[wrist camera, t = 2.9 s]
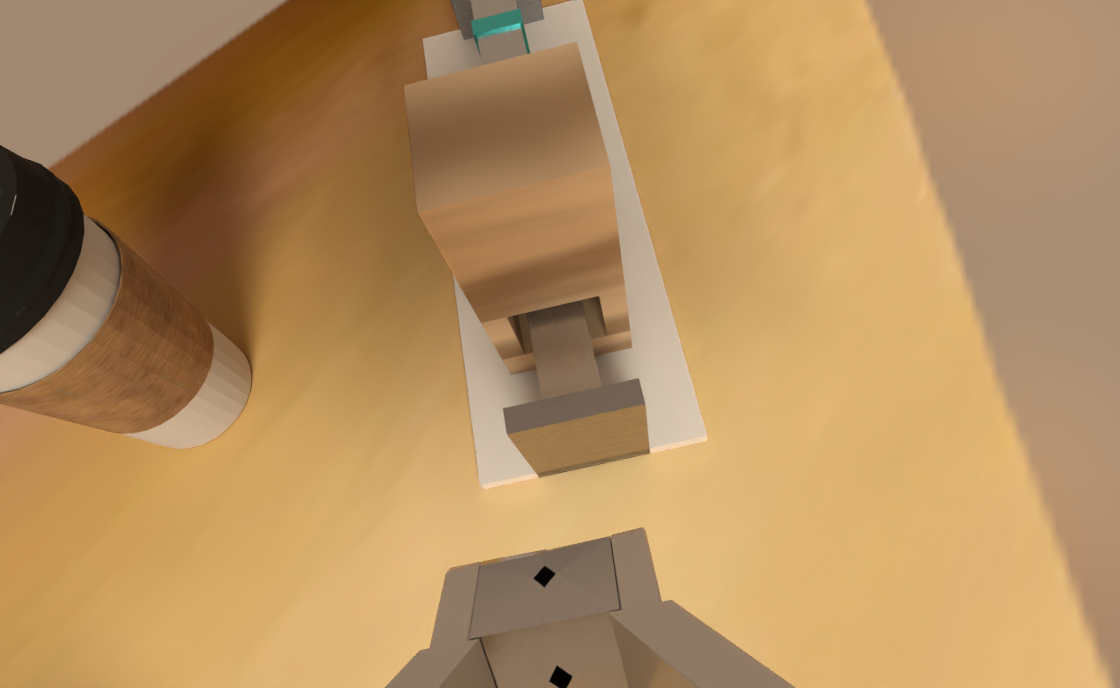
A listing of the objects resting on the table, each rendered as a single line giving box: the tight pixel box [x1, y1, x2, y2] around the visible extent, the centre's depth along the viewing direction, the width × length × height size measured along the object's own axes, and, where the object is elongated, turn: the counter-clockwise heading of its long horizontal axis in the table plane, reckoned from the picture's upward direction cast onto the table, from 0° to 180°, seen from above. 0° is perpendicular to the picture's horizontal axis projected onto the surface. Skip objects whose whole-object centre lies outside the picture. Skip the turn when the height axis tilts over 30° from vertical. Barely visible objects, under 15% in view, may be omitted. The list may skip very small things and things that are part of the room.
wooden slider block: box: [404, 42, 632, 375], centre depth 26 cm, size 5×6×13 cm
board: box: [423, 0, 707, 489], centre depth 35 cm, size 28×10×1 cm, turn 10°
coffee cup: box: [0, 145, 251, 449], centre depth 27 cm, size 8×8×15 cm
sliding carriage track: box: [451, 0, 650, 477], centre depth 33 cm, size 28×5×7 cm, turn 10°
